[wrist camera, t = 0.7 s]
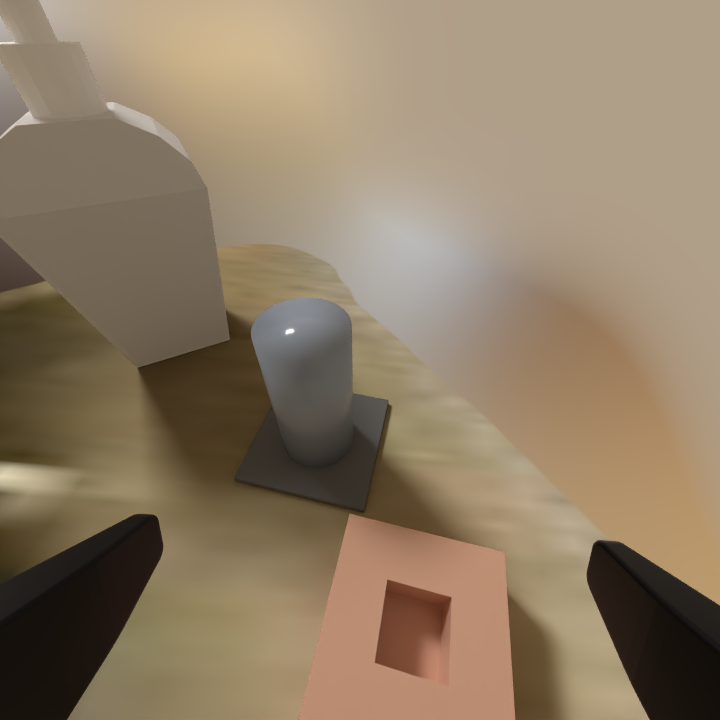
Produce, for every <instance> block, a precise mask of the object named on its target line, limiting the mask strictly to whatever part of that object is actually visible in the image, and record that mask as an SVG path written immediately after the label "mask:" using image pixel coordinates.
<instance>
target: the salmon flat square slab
mask: <svg viewBox="0 0 720 720" xmlns="http://www.w3.org/2000/svg"><path fill="white" fill-rule="evenodd" d="M298 720H515V708H514V692H513V676H512V661H511V645H510V629H509V614H508V598H507V582H506V566H505V552H502V551H498V550H494V549H490V548H486V547H482V546H478V545H474V544H470V543H466V542H462V541H458V540H454V539H450V538H446V537H442V536H438V535H433V534H429V533H425V532H421V531H417V530H413V529H409V528H405V527H401V526H397V525H393V524H389V523H385V522H381V521H377V520H373V519H369V518H365V517H361V516H357V515H353V514H349V518H348V522H347V526H346V530H345V534H344V538H343V542H342V546H341V550H340V554H339V558H338V562H337V566H336V570H335V574H334V578H333V582H332V586H331V590H330V594H329V598H328V602H327V606H326V610H325V614H324V618H323V622H322V626H321V630H320V634H319V638H318V642H317V646H316V650H315V654H314V658H313V662H312V666H311V670H310V674H309V678H308V682H307V686H306V690H305V694H304V698H303V702H302V706H301V710H300V714H299V718H298Z"/></svg>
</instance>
